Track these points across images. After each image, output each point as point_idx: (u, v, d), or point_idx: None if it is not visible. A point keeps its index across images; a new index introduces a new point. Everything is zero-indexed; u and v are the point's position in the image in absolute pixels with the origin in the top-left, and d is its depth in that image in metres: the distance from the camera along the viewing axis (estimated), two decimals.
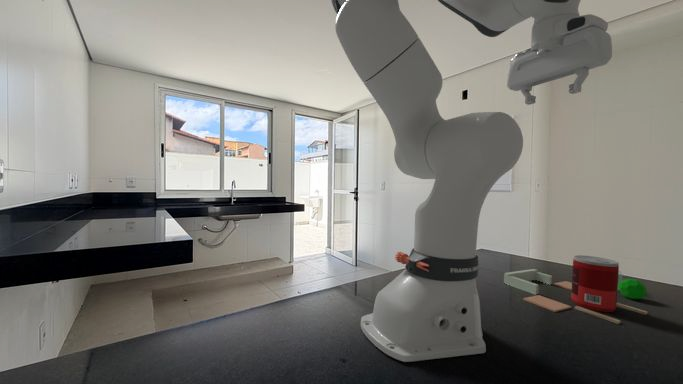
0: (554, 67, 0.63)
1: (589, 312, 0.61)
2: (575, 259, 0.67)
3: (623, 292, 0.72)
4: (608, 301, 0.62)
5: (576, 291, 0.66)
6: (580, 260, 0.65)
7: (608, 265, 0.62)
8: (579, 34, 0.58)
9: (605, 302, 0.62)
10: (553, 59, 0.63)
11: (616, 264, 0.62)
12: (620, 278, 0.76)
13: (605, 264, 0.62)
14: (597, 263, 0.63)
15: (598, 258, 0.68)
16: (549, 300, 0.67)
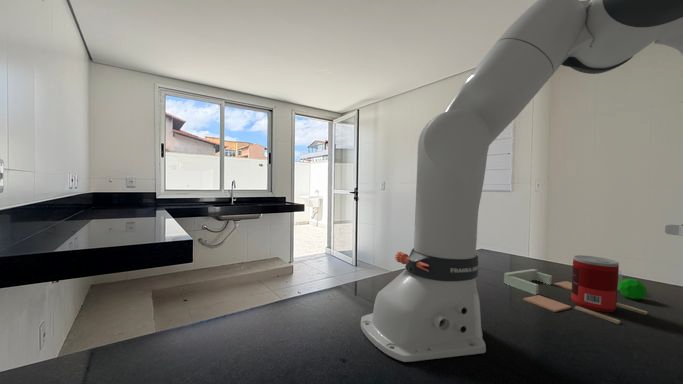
0: None
1: (589, 312, 0.61)
2: (575, 259, 0.67)
3: (623, 292, 0.72)
4: (608, 301, 0.62)
5: (576, 291, 0.66)
6: (580, 260, 0.65)
7: (608, 265, 0.62)
8: None
9: (605, 302, 0.62)
10: None
11: (616, 264, 0.62)
12: (620, 278, 0.76)
13: (605, 264, 0.62)
14: (597, 263, 0.63)
15: (598, 258, 0.68)
16: (549, 300, 0.67)
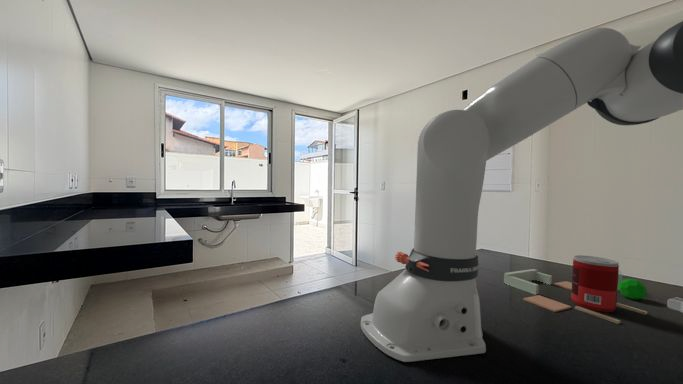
0: None
1: (589, 312, 0.61)
2: (575, 259, 0.67)
3: (623, 292, 0.72)
4: (608, 301, 0.62)
5: (576, 291, 0.66)
6: (580, 260, 0.65)
7: (608, 265, 0.62)
8: None
9: (605, 302, 0.62)
10: None
11: (616, 264, 0.62)
12: (620, 278, 0.76)
13: (605, 264, 0.62)
14: (597, 263, 0.63)
15: (598, 258, 0.68)
16: (549, 300, 0.67)
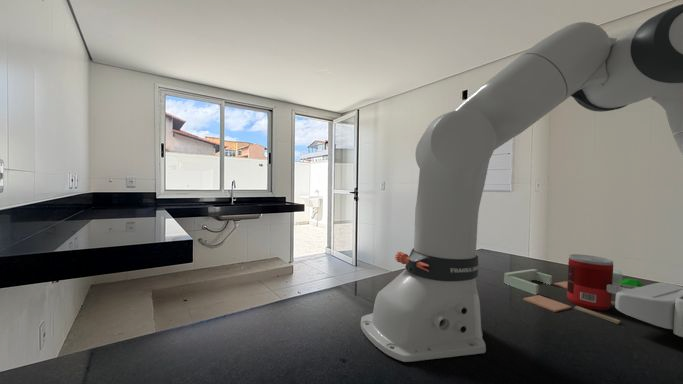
0: (646, 289, 0.57)
1: (589, 312, 0.61)
2: (571, 258, 0.68)
3: None
4: (603, 299, 0.63)
5: (571, 290, 0.67)
6: (575, 259, 0.66)
7: (603, 264, 0.63)
8: (671, 297, 0.50)
9: (600, 300, 0.63)
10: (659, 292, 0.55)
11: (611, 263, 0.63)
12: (620, 278, 0.76)
13: (600, 263, 0.63)
14: (592, 262, 0.64)
15: (593, 257, 0.68)
16: (549, 300, 0.67)
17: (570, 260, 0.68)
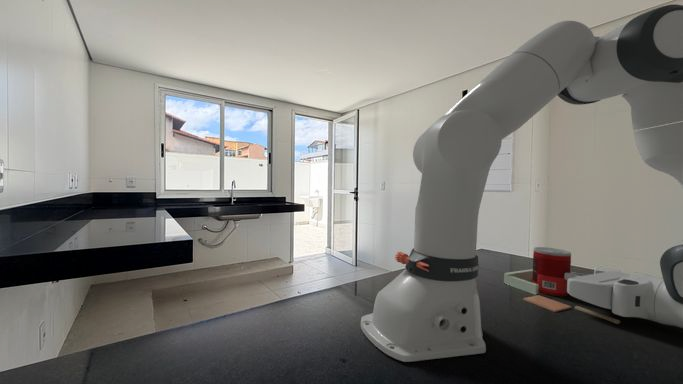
0: (595, 276, 0.64)
1: (589, 312, 0.61)
2: (535, 250, 0.75)
3: None
4: (561, 287, 0.71)
5: (535, 279, 0.74)
6: (539, 251, 0.74)
7: (562, 255, 0.70)
8: (611, 282, 0.58)
9: (559, 287, 0.71)
10: (606, 278, 0.63)
11: (568, 254, 0.71)
12: None
13: (559, 254, 0.71)
14: (552, 253, 0.71)
15: (555, 249, 0.76)
16: (549, 300, 0.67)
17: (534, 252, 0.75)
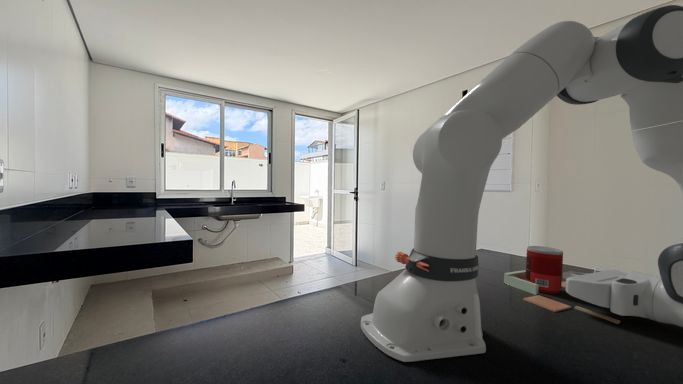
0: (593, 275, 0.65)
1: (589, 312, 0.61)
2: (528, 249, 0.77)
3: None
4: (554, 284, 0.72)
5: (528, 277, 0.76)
6: (532, 250, 0.75)
7: (554, 253, 0.72)
8: (609, 281, 0.58)
9: (552, 285, 0.72)
10: (604, 277, 0.63)
11: (560, 252, 0.73)
12: None
13: (551, 252, 0.72)
14: (545, 252, 0.73)
15: (547, 248, 0.78)
16: (549, 300, 0.67)
17: (528, 251, 0.77)
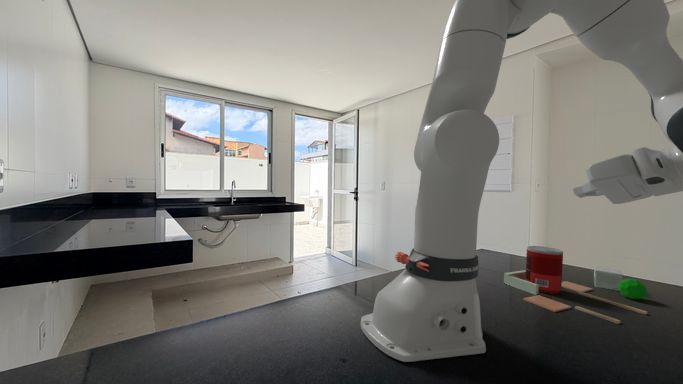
0: None
1: (589, 312, 0.61)
2: (528, 249, 0.77)
3: (623, 292, 0.71)
4: (554, 284, 0.72)
5: (528, 277, 0.76)
6: (532, 250, 0.75)
7: (554, 253, 0.72)
8: None
9: (552, 285, 0.72)
10: None
11: (560, 252, 0.73)
12: (620, 278, 0.76)
13: (551, 252, 0.72)
14: (545, 252, 0.73)
15: (547, 248, 0.78)
16: (549, 300, 0.67)
17: (528, 251, 0.77)
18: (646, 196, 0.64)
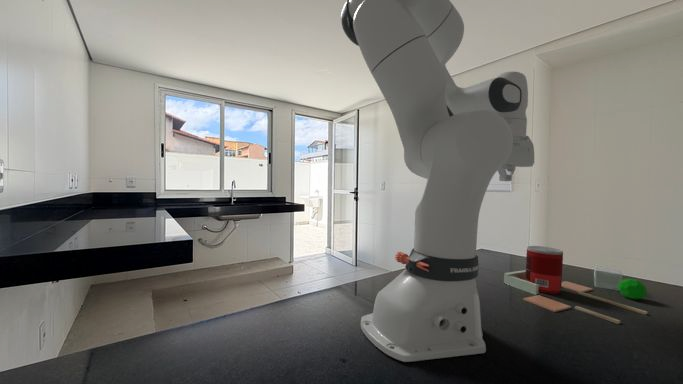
0: None
1: (589, 312, 0.61)
2: (528, 249, 0.77)
3: (623, 292, 0.71)
4: (554, 284, 0.72)
5: (528, 277, 0.76)
6: (532, 250, 0.75)
7: (554, 253, 0.72)
8: None
9: (552, 285, 0.72)
10: None
11: (560, 252, 0.73)
12: (620, 278, 0.76)
13: (551, 252, 0.72)
14: (545, 252, 0.73)
15: (547, 248, 0.78)
16: (549, 300, 0.67)
17: (528, 251, 0.77)
18: (530, 145, 0.81)
